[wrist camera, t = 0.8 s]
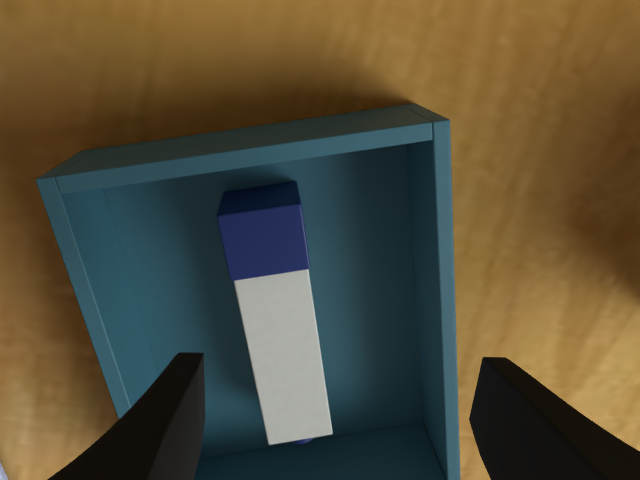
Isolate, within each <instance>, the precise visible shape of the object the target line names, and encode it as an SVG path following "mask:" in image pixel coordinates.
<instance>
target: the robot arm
mask: <svg viewBox="0 0 640 480" xmlns="http://www.w3.org/2000/svg"><path fill="white" fill-rule="evenodd" d="M205 418H206V416H205V379H204V353H192V352H179V353H178V354H177V355H175V356H174V358H173V359H172V360H171V361H170V363H169V364H168V365H167V367H166V368H165V369H164V370H163V372H162V373H161V374H160V375H159V376H158V378H157V379H156V380H155V381H154V382H153V384H152V385H151V386H150V387H149V388H148V389H147V390H146V392H145V393H144V394H143V395H142V396H141V397H140V398H139V399H138V400H137V402H136V403H135V404H134V405H133V406H132V407H131V408H130V409H129V410H128V411H127V412H126V413H125V414H124V415H123V416H122V417H121V418H120V419H119V420H118V421H117V422H116V423H115V424H114V425H113V426H112V427H111V428H110V429H109V430H108V431H107V432H106V433H105V434H104V435H103V436H101V437H100V438H99V439H98V440H97V441H96V442H95V443H94V444H92V445H91V446H90V447H89V448H88V449H87V450H85V451H84V452H83V453H82V454H81V455H79V456H78V457H77V458H76V459H75V460H73V461H72V462H71V463H69V464H68V465H67V466H66V467H64V468H63V469H61V470H60V471H59V472H57V473H56V474H55V475H53V476H52V477H50V478H49V479H48V480H194V476H195V473H196V469H197V465H198V461H199V457H200V452H201V445H202V439H203V432H204V425H205ZM469 420H470V424H471V427H472V430H473V434H474V437H475V441H476V444H477V447H478V450H479V453H480V456H481V458H482V460H483V463H484V465H485V467H486V469H487V472H488V474H489V476H490V478H491V480H640V451H638V450H636V449H635V448H633V447H631V446H629V445H628V444H626V443H624V442H623V441H621V440H620V439H618V438H617V437H615V436H613V435H612V434H610V433H609V432H607V431H606V430H604V429H603V428H601V427H600V426H599V425H597V424H596V423H594V422H593V421H591V420H590V419H588V418H587V417H585V416H584V415H583V414H581V413H580V412H578V411H577V410H576V409H574V408H573V407H571V406H570V405H569V404H567V403H566V402H565V401H563V400H562V399H561V398H559V397H558V396H557V395H555V394H554V393H553V392H551V391H550V390H549V389H547V388H546V387H545V386H544V385H542V384H541V383H540V382H538V381H537V380H536V379H534V378H533V377H532V376H531V375H529V374H528V373H527V372H525V371H524V370H523V369H521V368H520V367H519V366H517V365H516V364H514V363H513V362H512V361H510V360H509V359H507V358H503V357H483V359H482V364H481V368H480V373H479V377H478V382H477V386H476V391H475V395H474V400H473V404H472V409H471V413H470V418H469ZM0 480H9V479H8V477H7V475H6V473H5V471H4V469H3V467H2V465H1V463H0Z"/></svg>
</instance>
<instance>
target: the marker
mask: <svg viewBox="0 0 640 480" xmlns="http://www.w3.org/2000/svg"><path fill="white" fill-rule="evenodd" d="M216 218H217V223H218V227H219V232H220V237H221V241H222V246H223V251H224V255H225V260H226V265H227V269H228V274H229V278H230V280H231V281H234V285H235V290H236V294H237V299H238V304H239V309H240V313H241V318H242V323H243V327H244V332H245V337H246V341H247V346H248V351H249V356H250V360H251V365H252V370H253V374H254V379H255V384H256V388H257V393H258V398H259V403H260V407H261V412H262V417H263V421H264V426H265V431H266V435H267V440H268V444H269V445H272V444H278V443H284V442H290V441H292V442H293V443H295V444H305V443H308V442H309V441H311V440H312V439H313V438H314V437H320V436H326V435H331V434H332V433H333V431H332V424H331V418H330V411H329V404H328V397H327V391H326V384H325V377H324V371H323V364H322V357H321V350H320V344H319V337H318V330H317V324H316V317H315V310H314V304H313V297H312V290H311V283H310V277H309V270H308V269H310V267H311V265H310V258H309V251H308V244H307V237H306V231H305V224H304V217H303V210H302V204H301V199H300V193H299V188H298V183H297V182H296V181H293V182H286V183H279V184H273V185H266V186H259V187H252V188H246V189H239V190H232V191H225V192H223V195H222V199H221V202H220V206H219V209H218V213H217V217H216Z"/></svg>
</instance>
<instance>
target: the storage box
mask: <svg viewBox="0 0 640 480" xmlns="http://www.w3.org/2000/svg"><path fill="white" fill-rule="evenodd" d="M293 181H296V182H297V183H298V188H299V193H300V199H301V204H302V210H303V217H304V224H305V231H306V237H307V244H308V251H309V258H310V265H311V267H310V269H308V270H309V277H310V283H311V290H312V297H313V304H314V310H315V317H316V324H317V330H318V337H319V344H320V350H321V357H322V364H323V371H324V377H325V384H326V391H327V397H328V404H329V411H330V418H331V424H332V431H333V433H332V434H331V435H326V436H320V437H314V438H313V439H312V440H311V441H309V442H308V443H305V444H295V443H293V442H292V441H290V442H284V443H278V444H272V445H269V444H268V440H267V435H266V431H265V426H264V421H263V417H262V412H261V407H260V403H259V398H258V393H257V388H256V384H255V379H254V374H253V370H252V365H251V360H250V356H249V351H248V346H247V341H246V337H245V332H244V327H243V323H242V318H241V313H240V309H239V304H238V299H237V294H236V290H235V285H234V281H231V280H230V278H229V274H228V269H227V265H226V260H225V255H224V251H223V246H222V241H221V237H220V232H219V227H218V223H217V218H216V217H217V213H218V209H219V206H220V202H221V199H222V195H223V192H225V191H232V190H239V189H246V188H252V187H259V186H266V185H273V184H279V183H286V182H293ZM36 183H37V186H38V189H39V192H40V195H41V197H42V200H43V203H44V206H45V209H46V212H47V215H48V218H49V220H50V223H51V226H52V229H53V232H54V235H55V238H56V240H57V243H58V246H59V249H60V252H61V255H62V258H63V261H64V263H65V266H66V269H67V272H68V275H69V278H70V281H71V284H72V286H73V289H74V292H75V295H76V298H77V301H78V304H79V307H80V309H81V312H82V315H83V318H84V321H85V324H86V327H87V330H88V332H89V335H90V338H91V341H92V344H93V347H94V350H95V352H96V355H97V358H98V361H99V364H100V367H101V370H102V373H103V375H104V378H105V381H106V384H107V387H108V390H109V393H110V396H111V398H112V401H113V404H114V407H115V410H116V413H117V416H118V419H120V418H121V417H122V416H123V415H124V414H125V413H126V412H127V411H128V410H129V409H130V408H131V407H132V406H133V405H134V404H135V403H136V402H137V400H138V399H139V398H140V397H141V396H142V395H143V394H144V393H145V392H146V390H147V389H148V388H149V387H150V386H151V385H152V384H153V382H154V381H155V380H156V379H157V378H158V376H159V375H160V374H161V373H162V372H163V370H164V369H165V368H166V367H167V365H168V364H169V363H170V361H171V360H172V359H173V358H174V356H175V355H177V354H178V353H179V352H192V353H204V379H205V416H206V418H205V425H204V432H203V439H202V445H201V452H200V457H199V461H198V465H197V469H196V473H195V476H194V480H460V450H459V416H458V381H457V347H456V313H455V278H454V244H453V210H452V175H451V141H450V120H449V119H447V118H445V117H443V116H441V115H439V114H436V113H434V112H432V111H430V110H428V109H426V108H424V107H422V106H420V105H418V104H416V103H413V104H406V105H399V106H392V107H385V108H378V109H371V110H364V111H357V112H350V113H343V114H336V115H329V116H322V117H315V118H308V119H301V120H294V121H287V122H280V123H273V124H266V125H259V126H252V127H245V128H238V129H231V130H224V131H217V132H210V133H204V134H197V135H190V136H183V137H176V138H169V139H162V140H155V141H148V142H141V143H134V144H127V145H120V146H113V147H106V148H99V149H92V150H85V151H80V152H79V153H77V154H76V155H74V156H72V157H71V158H69V159H68V160H66V161H64V162H63V163H61V164H60V165H58V166H56V167H55V168H53V169H51V170H50V171H48V172H47V173H45V174H43V175H42V176H40V177H39V178H37V179H36Z"/></svg>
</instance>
